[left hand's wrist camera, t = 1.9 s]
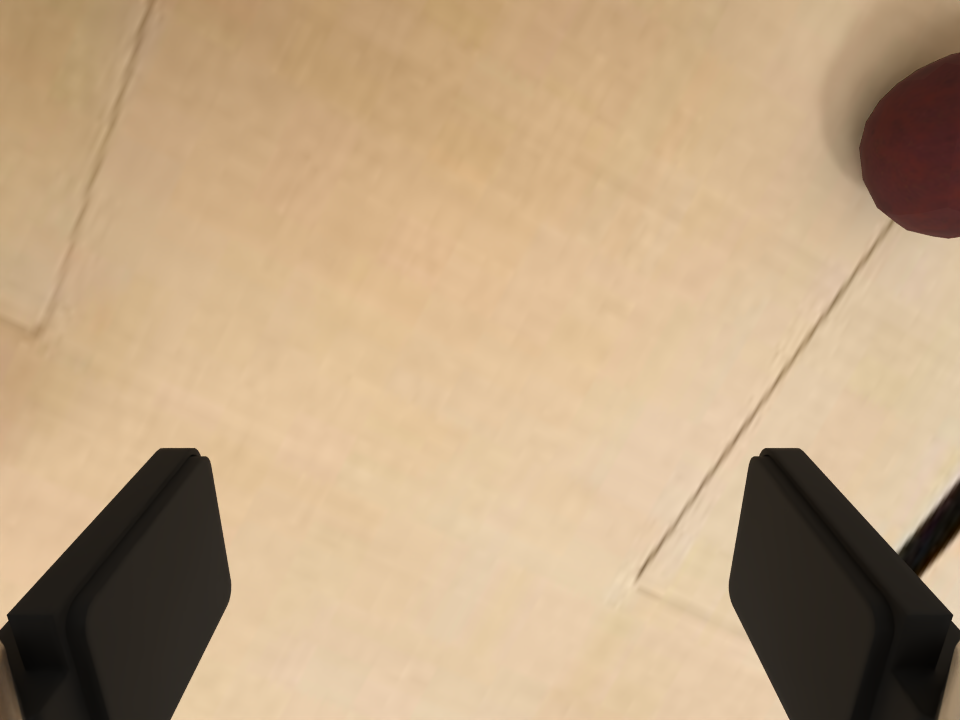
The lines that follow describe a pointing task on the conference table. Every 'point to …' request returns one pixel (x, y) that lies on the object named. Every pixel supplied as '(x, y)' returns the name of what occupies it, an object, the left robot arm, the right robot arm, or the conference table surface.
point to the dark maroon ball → (917, 150)
